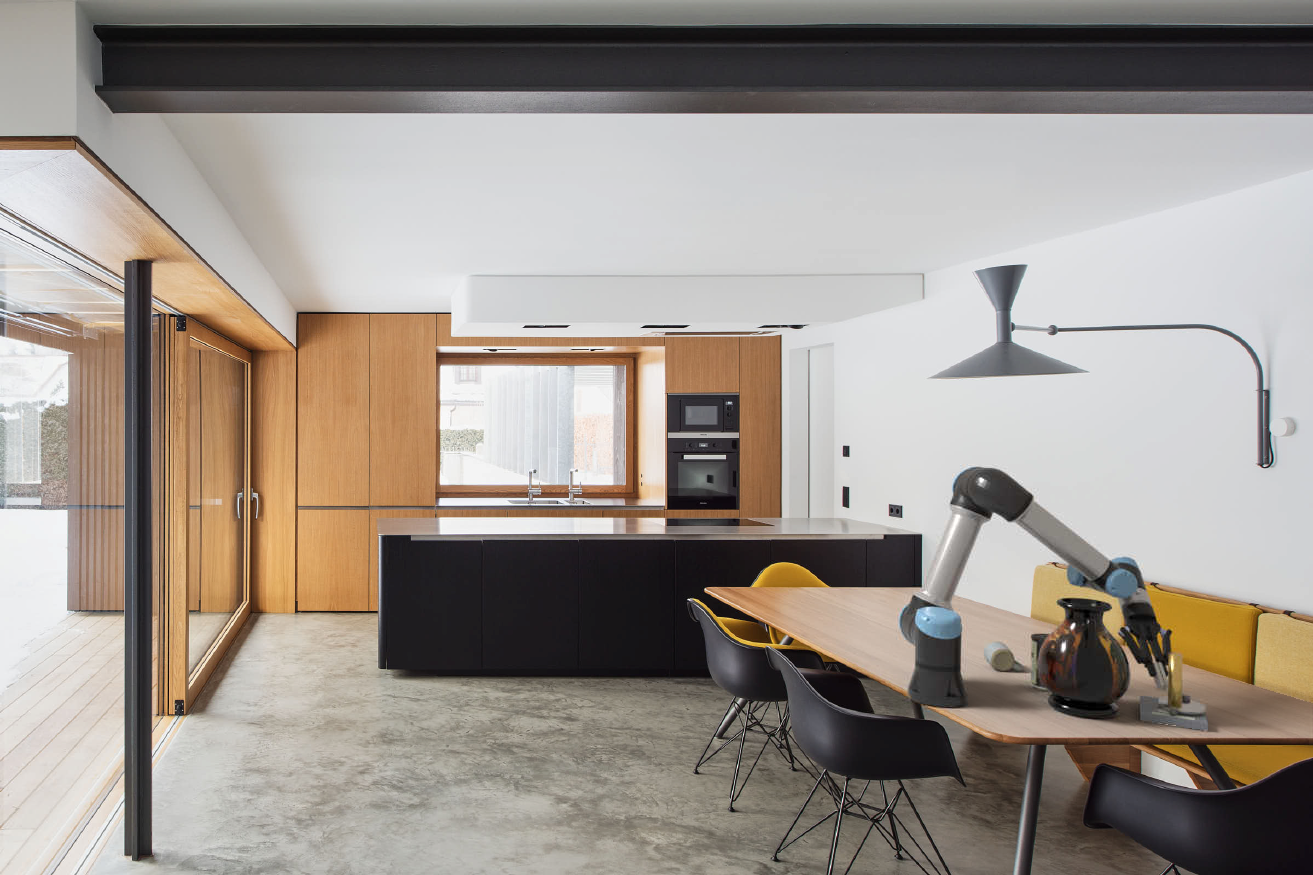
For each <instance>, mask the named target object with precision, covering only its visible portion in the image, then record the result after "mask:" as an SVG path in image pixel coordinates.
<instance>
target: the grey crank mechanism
mask: <svg viewBox="0 0 1313 875" xmlns="http://www.w3.org/2000/svg"><path fill="white" fill-rule="evenodd" d="M1159 698H1160V697H1156V696H1155V697H1154V696H1148V695H1143V694H1142V695H1141V694H1139V717H1140V718H1139V719H1140V720H1142V721H1141V722H1144V721H1148V722H1147V723H1150V722H1154V723H1153V724H1156V723H1161V724H1160V725H1163V724H1168V725H1167V726H1169V725H1176V726H1181V727H1180V728H1182V727H1185V728H1184V729H1188V728H1192V729H1191V730H1194V729H1199V730H1198V731H1201V730H1207V731H1208V730H1209V723H1208V719H1207V716H1206V713H1205V714H1204V715H1184V714H1178V712H1177V710H1176V709H1174V708H1171V709H1170V710H1169V711H1167V710H1164V709H1162V708H1160V707H1159ZM1207 731H1206V732H1207ZM1208 732H1209V731H1208Z"/></svg>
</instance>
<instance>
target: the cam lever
mask: <svg viewBox="0 0 1313 875" xmlns="http://www.w3.org/2000/svg"><path fill="white" fill-rule="evenodd" d="M1183 655H1184V654H1183V653H1180V652H1175V651H1174V652H1173V651H1171V652H1169V653H1168V666H1167V670H1168V676H1167V680H1168V688H1167V696H1162V697H1158V698H1159V707H1160V708H1162V709H1164V710H1167V711H1169V710H1170V709H1171V708H1174V709H1176V710H1177V712H1178V714H1184V715H1204V714H1205V715H1206V705H1205V704H1204V703H1202V702H1199V701H1197V700H1194V699H1191V695H1189V694H1185V693H1184V694H1183V664H1184V663H1183V661H1184V659H1183V658H1184V657H1183Z"/></svg>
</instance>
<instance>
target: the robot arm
mask: <svg viewBox="0 0 1313 875" xmlns="http://www.w3.org/2000/svg"><path fill="white" fill-rule="evenodd" d="M951 488H952V489H951V490H952V496H951V497H952V498H951V499H950V501H949V502H950V503H949V505H948V506H949V507H950V508H949V509H950V510H951V514H950V517H949V519H948V522H947V525H946V527H945V530H944V532H943V534H942V537H941V539H940V542H939V544H938V546H937V550H936V552H935V554H934V557H933V559H932V562H931V564H930V567H929V569H928V571H927V573H926V577H925V579H924V582H923V584H922V587H921V589H920V590H918V591H916V592H914V593H913V594H912V596H911V599H910V601H909V603H908V604H906V605H905V606H904V607H903V608H902V609H901V611H900V614H899V616H898V627H899V630H900V632H901V634H902V636H903V637H904V638H905V640H906V641H907V642H908V643H910V644H911V645H912V646H914V649H915V650H914V670H913V672H912V675H911V678H910V680H909V682H908V686H907V697H908V699H910V700H911V701H913V702H916V703H919V704H922V705H926V706H930V707H931V705H933V706H932V707H939V708H957V707H964V706H966V705H967V704H968V692H967V688H966V684H965V681H964V679H963V674H962V638H963V637H962V633H963V624H962V618H961V616H960V615H959V613H958V612H956V611H954V607H953V605H952V600H953V597H954V596H955V592H956V590H957V588H958V585H959V582H960V581H961V579H962V578H961V577H962V575H963V573H964V570H965V569H966V567H967V566H966V565H967V563H968V561H969V558H970V556H971V553H972V552H973V551H972V550H973V548H974V546H975V543H976V541H977V538H978V536H979V533H980V531H981V528H982V526H983V525H984V524H986V523H988V522H991V520H992V519H991V518H992V516H993V514H996V515H997V516H999V517H1002V518H1003V519H1004V520H1005V521H1006V522H1007V523H1015V524H1016V525H1018V526H1019V527H1021V528H1022V529H1023V530H1024V531H1026V532H1027V533H1028V534H1030V535H1031V537H1034V538H1035V539H1036V540H1037V541H1038V542H1040V543H1041V544H1042V545H1043V546H1045V547H1046V548H1047V549H1049V550H1050V551H1052V553H1053V554H1055V555H1057V556H1058V557H1059V558H1060V559H1062V560H1063V561H1064V562H1065V563H1066V564H1068V566H1067V568H1066V578H1067V582H1068V583H1069V584H1070V585H1071V586H1075V587H1080V588H1087V589H1091V590H1094V591H1097V592H1100V593H1103V594H1106V595H1108V596H1111V597H1112V598H1117V600H1118V604H1119V607H1120V610H1121V611H1122V612H1121V613H1122V616H1123V620H1124V622H1125V626H1121V627H1120V628H1119V631H1118V633H1117V634H1118V635H1119V637H1121V638H1122V639H1123V641H1124V642H1125V644H1126V646H1127V648H1128V649H1129V651H1130V652H1131V655H1132V656H1133V658H1134V660H1135V661H1136V663H1137V664H1138V665H1140V664H1142V665H1144V666H1143V667H1144V669H1147V672H1148V675H1149V676H1150V678H1151V677H1152V678H1153V680H1154V683H1155V685H1156V689H1157V691H1158V692H1159V691H1162V692H1166V691H1168V653H1169V652H1172V644H1171V636H1172V633H1173V631H1172V630H1171V629H1164V628H1162V625H1160V623H1159V622H1158V620H1157V616H1156V613H1155V610H1154V608H1153V604H1152V601H1151V599H1150V595H1149V593H1148V591H1147V588H1146V585H1145V582H1144V579H1143V576H1142V572H1141V570H1140V568H1139V564H1137V562H1136V560H1135V559H1133V558H1131V557H1128V556H1121V557H1115V558H1113V559H1111V560H1110V559H1109V558H1108V557H1106V556H1105V554H1103V553H1101V552H1100V551H1099V550H1098V549H1097V548H1095V547H1094V546H1093V545H1091V544H1090V543H1089V542H1087V540H1085V539H1083V538H1082V537H1081V536H1080V535H1078V534H1077V533H1076V532H1075V531H1073V529H1071V528H1070V527H1068V526H1067V525H1066V524H1064V523H1063V522H1061V521H1060V519H1058V518H1057V517H1055V516H1054V515H1053V514H1051V512H1049V511H1048V510H1047V509H1045V508H1044V507H1042V506H1041V505H1040V504H1038V502H1036V501H1035V496H1034V495H1033V494H1032V492H1030V491H1028V490H1027V489H1026V488H1025V487H1024V486H1023V485H1021V484H1020V483H1019V482H1018V481H1017V480H1015V479H1014V478H1013V477H1011V476H1010V475H1009V474H1008V473H1006V472H1005V471H1003V470H1001V469H998V468H994V467H984V466H983V467H982V466H972V467H969V468H966V469H964V470H961V471H959V473H958V474H957V475H956V476H955V477H954V480H953V483H952V485H951ZM1158 634H1160V638H1161V639H1162V640H1161V646H1160V643H1159V641H1158ZM1134 638H1135V639H1136V640H1135V639H1134ZM1151 652H1152V654H1151ZM1152 656H1153V657H1152ZM1153 658H1154V660H1153ZM908 695H909V696H910V697H911V698H910V697H909V696H908ZM929 704H930V705H929Z"/></svg>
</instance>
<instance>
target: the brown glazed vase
mask: <svg viewBox="0 0 1313 875" xmlns="http://www.w3.org/2000/svg"><path fill="white" fill-rule="evenodd" d="M1056 605H1057V606H1059V607H1060V608H1063V609H1064V610H1063V611H1064V614H1065V615H1064V619H1063V621H1062V622H1061V623H1060V625H1058V626H1057V627H1056V628H1055V629H1054V630H1053V631H1052V632H1051V633H1049V634H1050V635H1048V637H1047V638H1046V639H1045V641H1044V643H1043V644H1042V647H1041V649H1040V652H1039V657H1038V674H1039V677H1040V680H1041V682H1042V683H1043V685H1044V686H1045V687H1046V689H1047V690H1048V691H1047V692H1049V693H1050V695H1049V696H1048V697H1047V703H1048V705H1049V706H1050V707H1051V708H1052V709H1055V710H1057V711H1058V712H1060V713H1061V712H1062V713H1064V714H1067V715H1070V716H1076V717H1080V718H1088V719H1107V718H1108V719H1109V718H1112V717H1115V716H1116V715H1118V714H1119V710H1120V709H1119V707H1118V705H1117V704H1116V703H1117V702H1118V701H1119V700H1121V698H1123V696H1124V695H1125V694H1126V692H1127V691H1128V690H1129V687H1130V685H1131V674H1132V673H1131V668H1130V663H1129V660H1128V657H1127V654H1126V652H1125V650H1124V649H1123V646H1122V645H1121V644H1120V642H1119V641H1118V640H1117V639H1116V638H1115V636H1113V635H1112V633H1111V632H1110V631H1109V630H1108V629H1107V627H1106V626H1105V624H1104V621H1103V618H1104V615H1105V614H1104V613H1106V612H1109V611H1111V610H1112V609H1113V605H1112V604H1111V603H1109V602H1106V601H1102V600H1097V599H1091V598H1081V597H1078V598H1077V597H1062V598H1059V599H1057V600H1056Z"/></svg>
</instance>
